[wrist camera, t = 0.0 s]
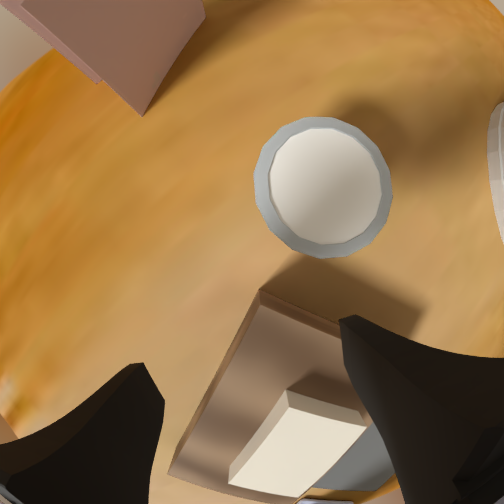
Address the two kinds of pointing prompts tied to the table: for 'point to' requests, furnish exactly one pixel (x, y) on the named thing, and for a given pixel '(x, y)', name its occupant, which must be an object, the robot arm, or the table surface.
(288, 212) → the white cup
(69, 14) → the greeting card
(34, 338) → the table surface
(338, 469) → the mat
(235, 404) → the platform
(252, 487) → the tile
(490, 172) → the dish
